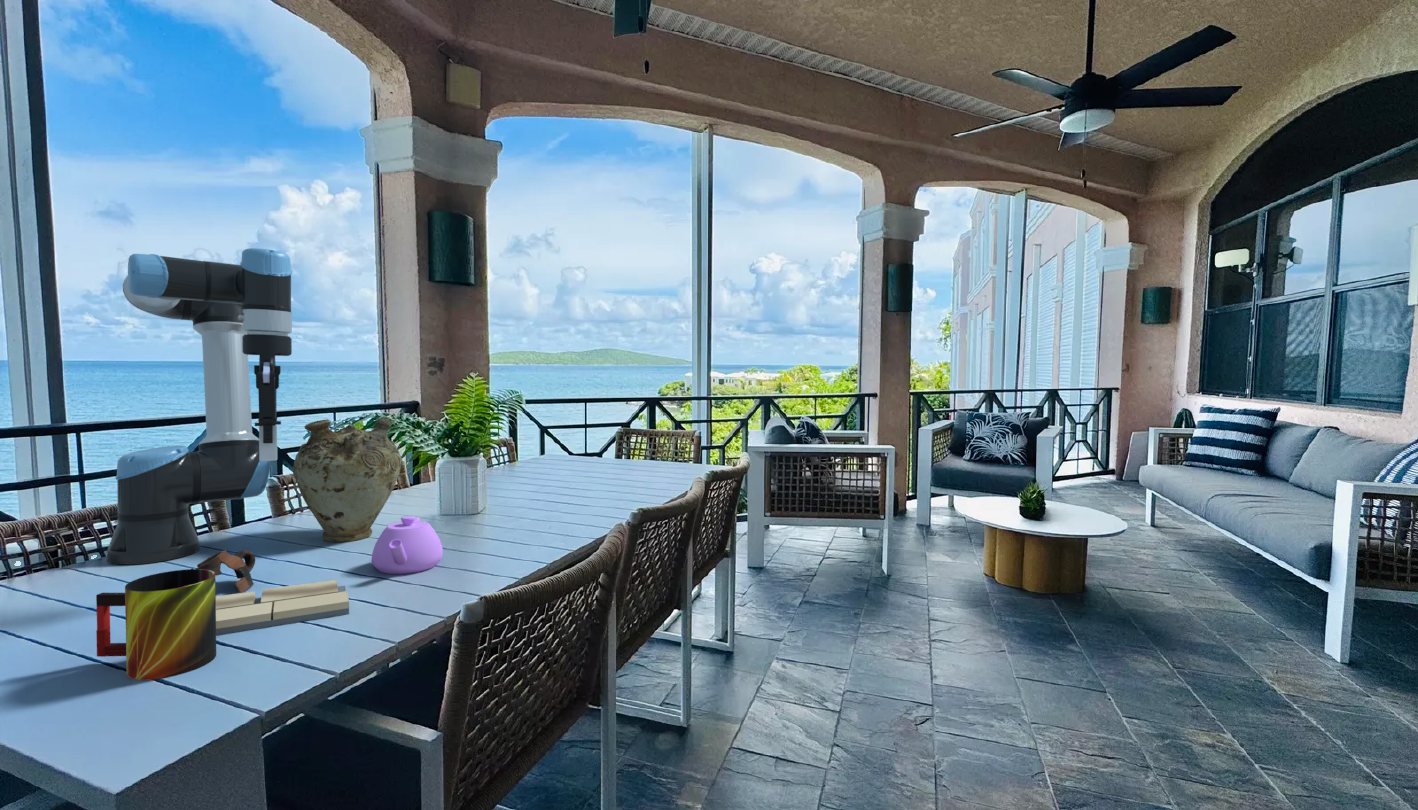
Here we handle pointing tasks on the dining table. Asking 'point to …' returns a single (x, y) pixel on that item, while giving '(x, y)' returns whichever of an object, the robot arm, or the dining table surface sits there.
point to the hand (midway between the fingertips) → (268, 460)
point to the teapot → (407, 547)
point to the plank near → (235, 600)
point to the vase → (347, 477)
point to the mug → (162, 623)
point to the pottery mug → (232, 566)
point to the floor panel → (281, 612)
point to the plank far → (298, 591)
